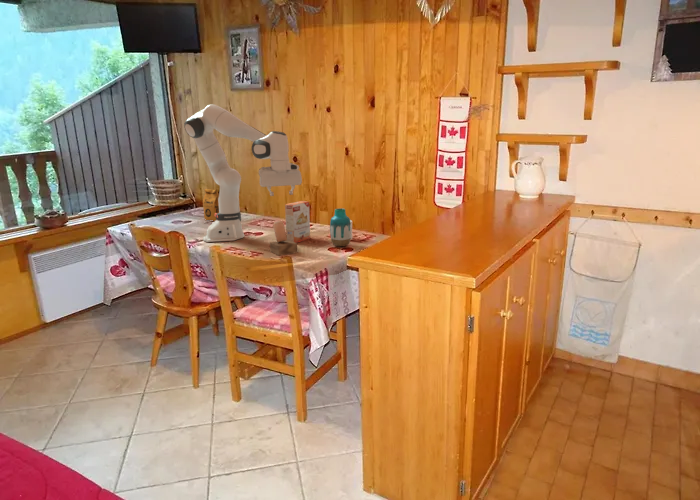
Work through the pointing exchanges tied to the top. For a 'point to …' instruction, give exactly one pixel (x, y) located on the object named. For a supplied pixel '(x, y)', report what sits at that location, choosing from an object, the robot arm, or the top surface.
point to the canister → (280, 231)
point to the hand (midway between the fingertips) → (281, 195)
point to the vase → (340, 228)
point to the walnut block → (283, 247)
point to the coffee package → (210, 204)
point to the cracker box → (297, 221)
